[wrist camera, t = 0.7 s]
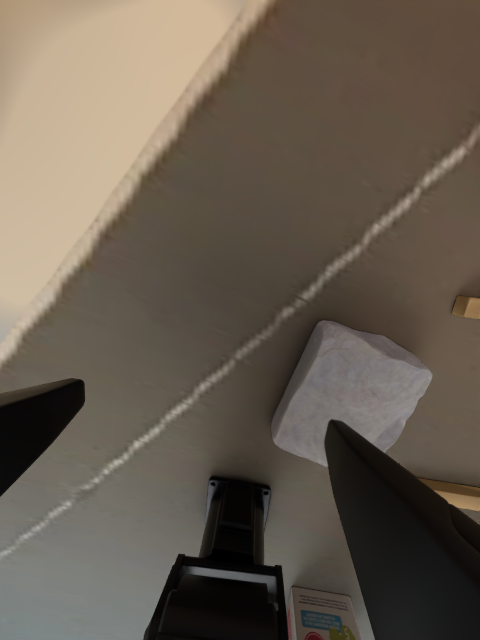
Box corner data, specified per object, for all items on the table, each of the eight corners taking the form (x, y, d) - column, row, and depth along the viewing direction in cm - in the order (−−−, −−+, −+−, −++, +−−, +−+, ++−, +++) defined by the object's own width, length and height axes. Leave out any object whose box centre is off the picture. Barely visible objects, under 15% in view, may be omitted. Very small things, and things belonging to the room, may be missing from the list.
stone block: (407, 341, 21) (310, 309, 19) (459, 369, 17) (338, 331, 15) (348, 440, 25) (260, 421, 23) (377, 485, 20) (270, 466, 18)
